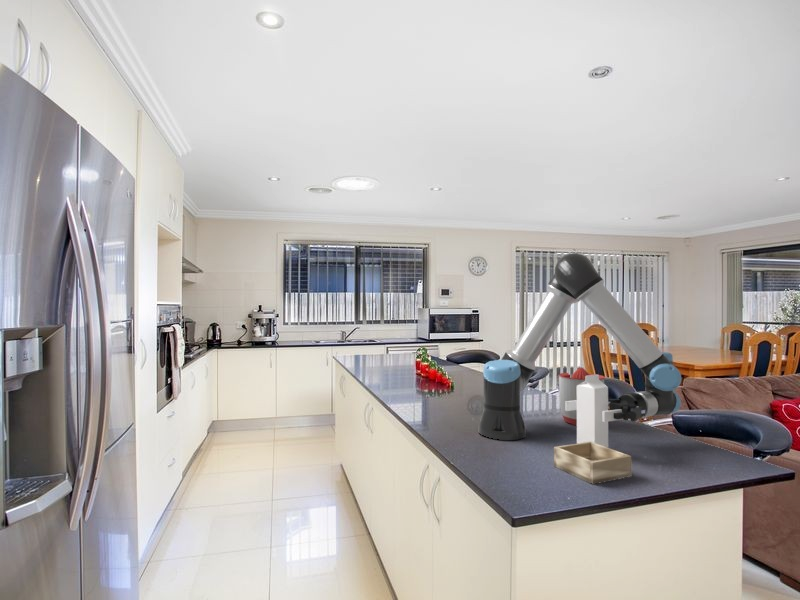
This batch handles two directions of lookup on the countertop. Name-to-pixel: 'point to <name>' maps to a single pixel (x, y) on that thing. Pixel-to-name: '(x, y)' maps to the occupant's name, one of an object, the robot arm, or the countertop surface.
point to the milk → (592, 411)
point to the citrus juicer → (571, 391)
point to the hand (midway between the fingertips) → (583, 411)
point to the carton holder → (592, 462)
